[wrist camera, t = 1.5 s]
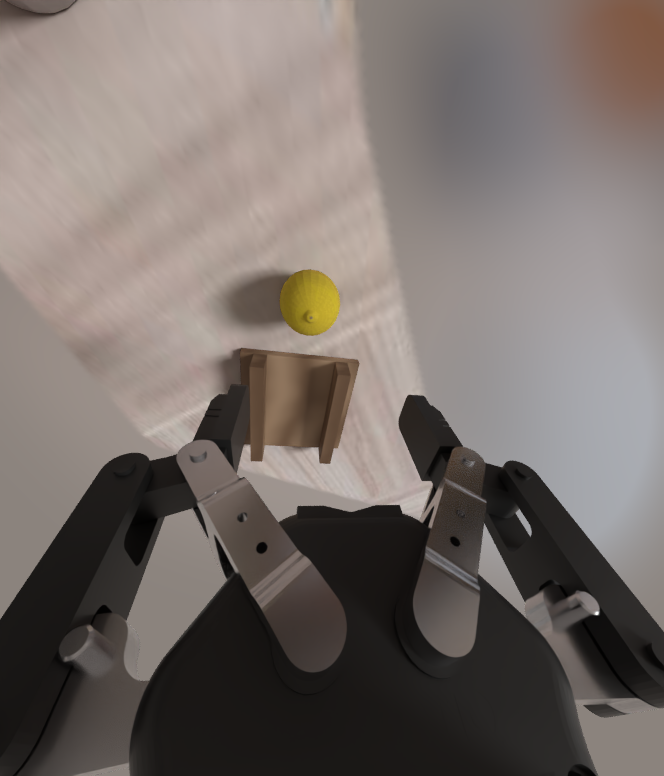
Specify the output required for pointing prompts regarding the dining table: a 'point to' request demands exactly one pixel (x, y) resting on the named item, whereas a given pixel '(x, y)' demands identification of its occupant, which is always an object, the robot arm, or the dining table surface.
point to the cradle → (296, 400)
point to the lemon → (309, 302)
